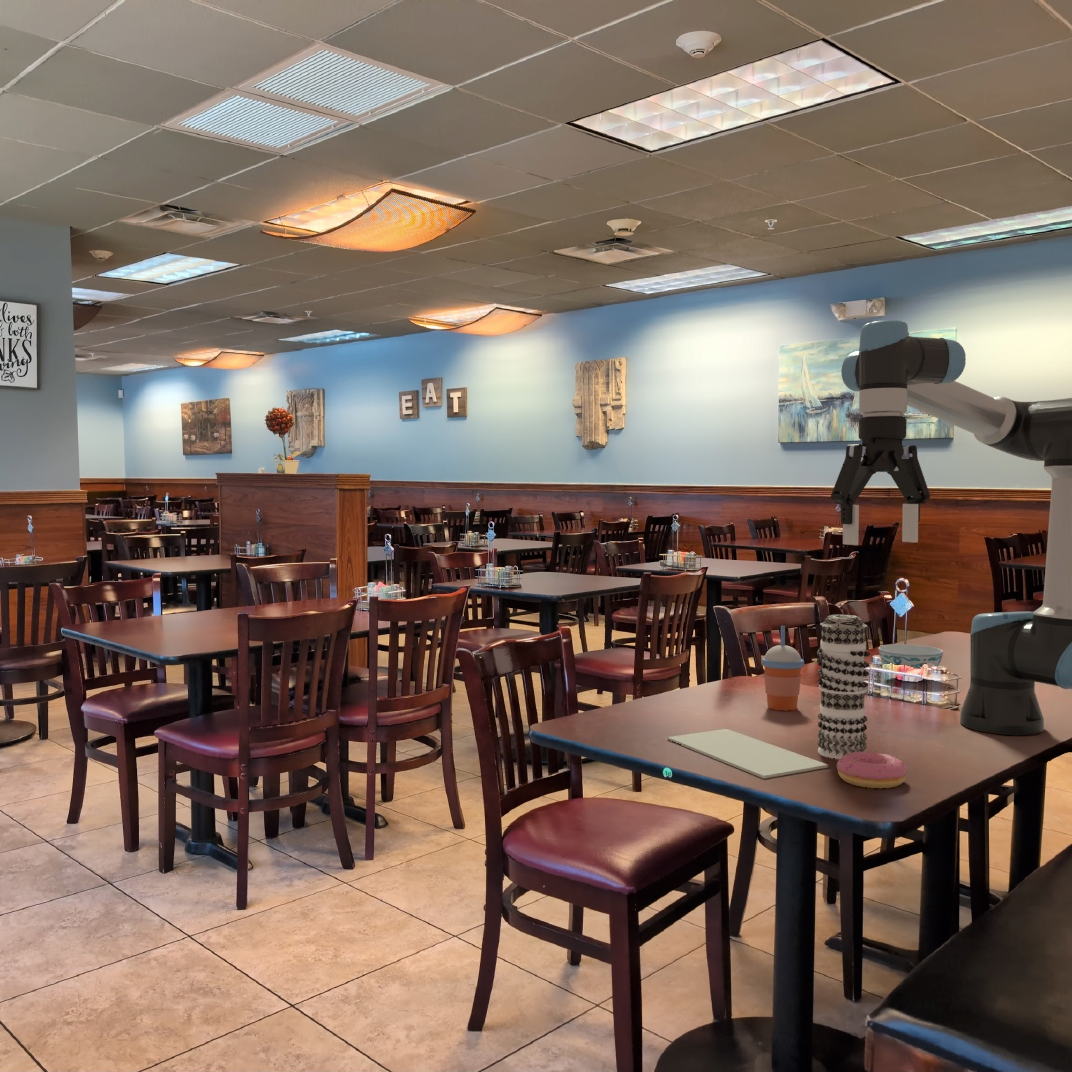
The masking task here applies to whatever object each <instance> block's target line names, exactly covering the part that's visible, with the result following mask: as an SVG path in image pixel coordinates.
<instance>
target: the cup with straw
mask: <svg viewBox="0 0 1072 1072" xmlns="http://www.w3.org/2000/svg"><path fill="white" fill-rule="evenodd" d="M804 660H805V659H802V658H801V655H800V653H799V652H798V651H797V650H796V649H795V648H794V647H792V646H789V645H786V626H785V625H781V626H780V644H778V645H775V646H772V647H771V648H770V649H768V651H766V653H765V655H764V657H762V658H761V660H760V661H761V662H760V663H761V666H763V667H764V672H763V677H764V678H763V679H764V688H765V689H764V690H765V694H766V701H767V708H768V709H770V710H773V709H774V710H773V711H779V710H784V711H783V712H786V711H787V712H789V711H788V710H791V711H795V710H797V707H798V701H799V700H798V699H799V695H800V691H801V689H800V688H801V679H802V674H801V671H802V668H803V667H804V666H805V661H804Z"/></svg>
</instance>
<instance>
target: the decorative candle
mask: <svg viewBox="0 0 1072 1072" xmlns="http://www.w3.org/2000/svg"><path fill="white" fill-rule="evenodd" d="M819 625H820V626H821V639H820V647H819V648H818V649H817V651H816V655H817V657H818V659H816V662H817V663H816V664H817V665H818V666H820V668H819V669H818V670H817V675H818V677H819V678H818V679H817V684H818V690H820V691H821V692H820V693H821V694H820V704H819V713H818V715H817V719H818V720H820V721H818V722H817V727H818V728H820V729H819V730H818V731H817V738H818V740H817V746H818V749H817V754H819V755H820V756H823V757H825V758H828V757H829V758H828V759H833V758H835V759H834V760H839V759H840V758H841V757H842V755H843V756H844V755H845V754H848V753H853V752H862V751H863V752H866V751H865V750H867V748H868V745H867V742H866V741H867V740H868V737H867V734H866V733H865V731H866V730H867V729H868V727H867V725H866V722H867V721H868V717H867V716H866V705H865V693H867V692H868V688H867V687H868V686H869V684H868V682H866V681H865V678H866V677H867V676H869V675H870V673H869V671H867V670H866V668H869V667H870V663H869V662H867V661H866V660H865V658H867V657H869V656H871V653H870V651H868V650H867V641H866V627H868V625H867V624H865V623H864V622H863V620H862V618H861V617H860V616H857V615H853V614H852V615H851V614H830V615H828V616H826V618H825V619H824V621H823V622H821V623H819Z"/></svg>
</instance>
